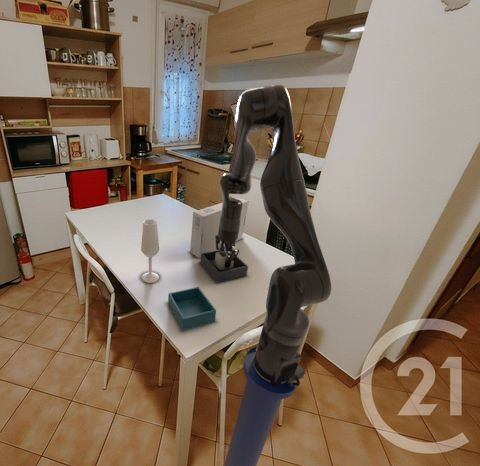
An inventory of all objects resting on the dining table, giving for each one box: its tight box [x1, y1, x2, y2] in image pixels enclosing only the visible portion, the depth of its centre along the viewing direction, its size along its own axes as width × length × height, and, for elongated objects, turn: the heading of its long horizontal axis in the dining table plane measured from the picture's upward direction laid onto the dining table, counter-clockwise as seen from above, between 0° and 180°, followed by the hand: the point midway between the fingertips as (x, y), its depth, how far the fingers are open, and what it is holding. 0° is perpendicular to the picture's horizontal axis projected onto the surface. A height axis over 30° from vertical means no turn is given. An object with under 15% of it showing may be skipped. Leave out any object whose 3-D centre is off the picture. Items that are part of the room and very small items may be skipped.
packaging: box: [189, 197, 250, 259], centre depth 121 cm, size 30×6×20 cm, turn 128°
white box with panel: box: [214, 251, 234, 270], centre depth 106 cm, size 4×6×6 cm
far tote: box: [200, 250, 249, 283], centre depth 107 cm, size 14×13×5 cm
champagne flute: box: [140, 218, 160, 284], centre depth 97 cm, size 7×7×24 cm
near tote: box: [167, 286, 217, 331], centre depth 85 cm, size 12×11×5 cm
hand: (223, 263), depth 107 cm, fingers closed on white box with panel, 4 cm apart
